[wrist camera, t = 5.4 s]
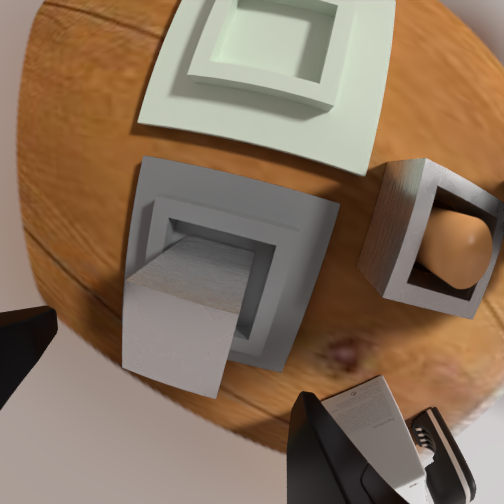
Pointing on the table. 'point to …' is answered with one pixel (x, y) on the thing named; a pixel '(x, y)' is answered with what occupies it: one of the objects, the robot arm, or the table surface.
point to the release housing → (412, 230)
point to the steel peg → (185, 313)
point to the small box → (381, 436)
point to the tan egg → (455, 247)
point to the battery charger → (443, 461)
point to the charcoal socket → (238, 244)
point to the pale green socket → (277, 75)
